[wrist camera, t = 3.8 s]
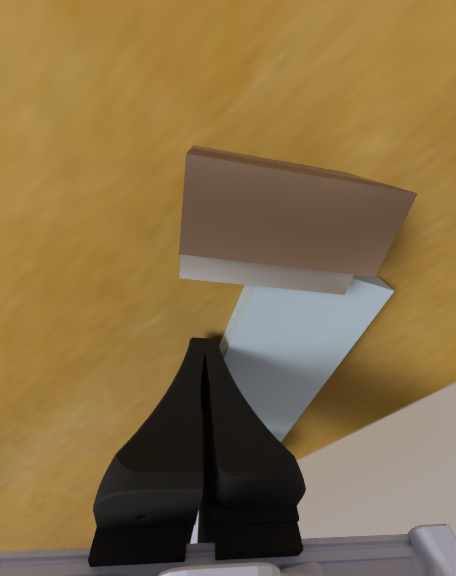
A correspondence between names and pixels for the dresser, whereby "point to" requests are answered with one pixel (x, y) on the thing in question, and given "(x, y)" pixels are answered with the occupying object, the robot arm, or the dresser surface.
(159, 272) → the dresser surface
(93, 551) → the robot arm
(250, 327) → the cover plate
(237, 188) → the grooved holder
